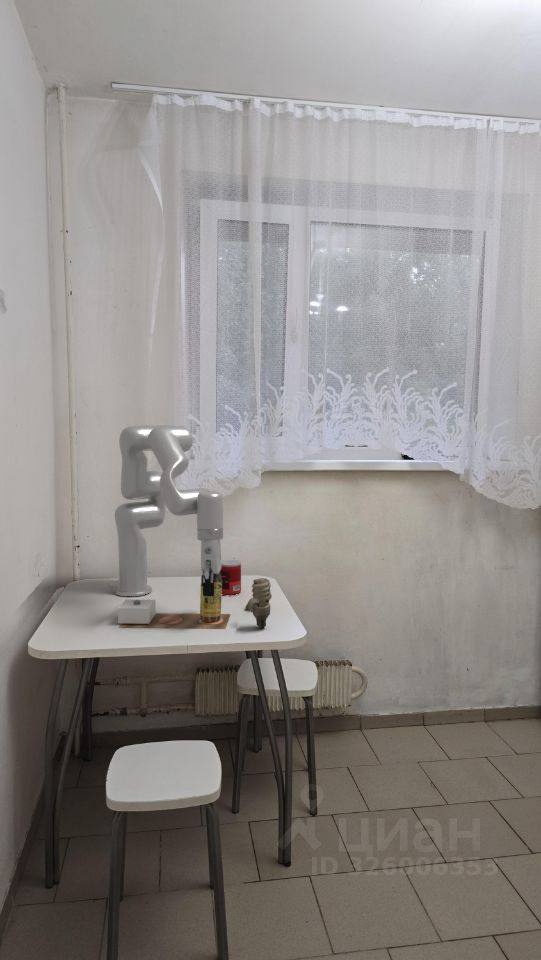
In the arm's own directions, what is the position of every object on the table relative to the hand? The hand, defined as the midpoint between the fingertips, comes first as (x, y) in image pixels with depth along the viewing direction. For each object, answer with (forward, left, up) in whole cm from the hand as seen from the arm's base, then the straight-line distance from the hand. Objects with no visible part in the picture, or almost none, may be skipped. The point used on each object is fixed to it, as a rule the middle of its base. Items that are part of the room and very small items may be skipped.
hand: (210, 591), depth 192 cm
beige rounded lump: (+13, +15, -10) cm, 22 cm away
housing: (-22, 0, -9) cm, 24 cm away
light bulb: (+15, -3, -10) cm, 19 cm away
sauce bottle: (0, 0, -9) cm, 9 cm away
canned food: (+2, +35, -10) cm, 37 cm away
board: (-10, 0, -10) cm, 15 cm away
